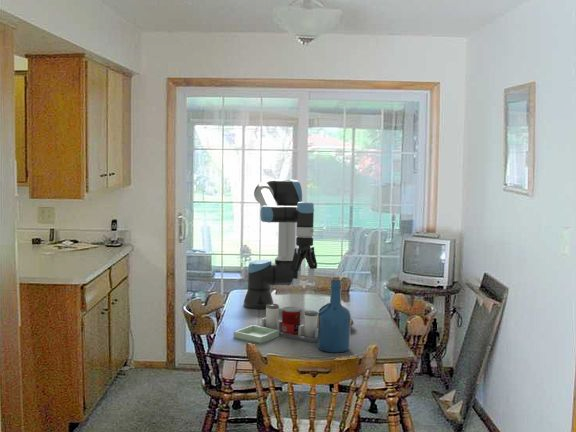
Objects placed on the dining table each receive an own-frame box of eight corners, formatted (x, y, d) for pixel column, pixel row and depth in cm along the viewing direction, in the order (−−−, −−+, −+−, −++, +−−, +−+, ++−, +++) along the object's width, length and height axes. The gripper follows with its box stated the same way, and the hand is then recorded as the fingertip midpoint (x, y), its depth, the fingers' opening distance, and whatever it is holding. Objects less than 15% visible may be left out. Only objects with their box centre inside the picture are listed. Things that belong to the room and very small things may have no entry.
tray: (233, 338, 292) (233, 331, 292) (252, 331, 304) (252, 324, 304) (260, 344, 285) (260, 337, 285) (278, 336, 297) (279, 330, 297)
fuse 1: (263, 329, 307) (263, 305, 306) (270, 326, 312) (270, 303, 311) (273, 331, 304) (274, 307, 303) (280, 329, 309) (281, 305, 308)
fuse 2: (301, 337, 297) (302, 312, 296) (308, 334, 302) (308, 309, 300) (312, 339, 294) (313, 314, 293) (319, 336, 299) (320, 312, 298)
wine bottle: (347, 344, 289) (350, 273, 285) (351, 354, 275) (354, 280, 272) (315, 343, 288) (317, 273, 285) (317, 353, 275) (320, 279, 272)
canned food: (298, 336, 298) (298, 311, 297) (280, 334, 300) (280, 309, 299) (301, 331, 306) (302, 307, 305) (283, 330, 308) (284, 306, 306)
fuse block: (253, 330, 306) (253, 320, 305) (269, 324, 317) (269, 314, 316) (313, 342, 289) (314, 332, 289) (329, 336, 300) (329, 326, 300)
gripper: (298, 238, 293) (297, 288, 293) (325, 236, 314) (324, 282, 315) (283, 237, 297) (282, 286, 297) (310, 235, 318) (309, 281, 319)
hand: (303, 284), depth 306 cm, fingers open, 13 cm apart
